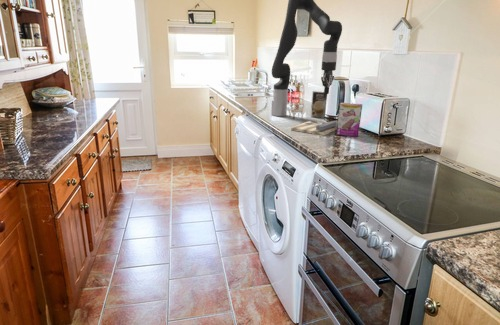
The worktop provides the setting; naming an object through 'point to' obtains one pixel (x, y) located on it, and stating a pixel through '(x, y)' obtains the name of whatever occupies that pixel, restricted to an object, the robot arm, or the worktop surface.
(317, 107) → the coffee box
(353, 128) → the candy bar box
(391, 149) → the worktop surface
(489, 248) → the worktop surface
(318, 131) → the striped wooden cutting board
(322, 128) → the swing bar
